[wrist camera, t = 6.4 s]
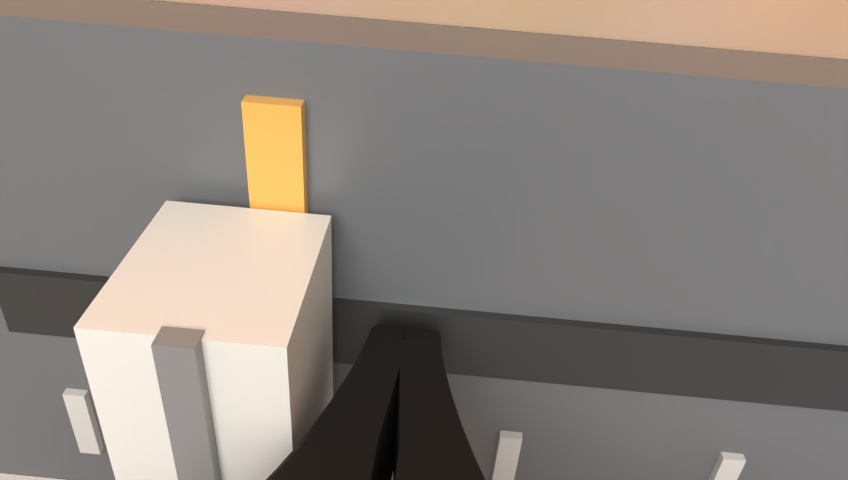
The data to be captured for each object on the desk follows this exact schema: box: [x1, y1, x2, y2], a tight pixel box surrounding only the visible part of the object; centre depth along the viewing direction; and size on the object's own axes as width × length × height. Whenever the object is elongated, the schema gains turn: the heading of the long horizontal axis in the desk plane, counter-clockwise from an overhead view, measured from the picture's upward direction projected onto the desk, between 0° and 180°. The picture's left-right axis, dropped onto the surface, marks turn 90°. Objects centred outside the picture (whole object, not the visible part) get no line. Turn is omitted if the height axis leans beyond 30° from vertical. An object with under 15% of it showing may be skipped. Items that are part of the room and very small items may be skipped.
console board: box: [0, 0, 848, 480], centre depth 15 cm, size 12×28×2 cm, turn 86°
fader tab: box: [73, 201, 333, 480], centre depth 13 cm, size 6×3×4 cm, turn 176°
